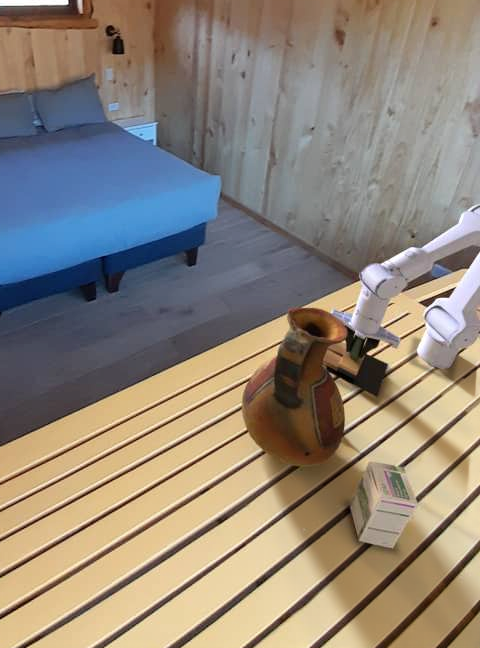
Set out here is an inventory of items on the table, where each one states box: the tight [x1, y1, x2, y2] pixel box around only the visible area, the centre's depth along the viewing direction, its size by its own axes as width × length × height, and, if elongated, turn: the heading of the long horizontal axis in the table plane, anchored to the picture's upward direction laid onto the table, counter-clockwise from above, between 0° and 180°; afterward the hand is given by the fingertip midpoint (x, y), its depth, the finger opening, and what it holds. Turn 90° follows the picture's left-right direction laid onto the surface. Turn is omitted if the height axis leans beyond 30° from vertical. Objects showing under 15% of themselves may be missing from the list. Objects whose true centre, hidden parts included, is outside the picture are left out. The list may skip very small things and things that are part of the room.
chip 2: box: [323, 350, 342, 371], centre depth 101 cm, size 4×4×1 cm
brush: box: [337, 335, 367, 380], centre depth 98 cm, size 9×4×10 cm, turn 138°
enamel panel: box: [325, 353, 389, 398], centre depth 100 cm, size 12×12×2 cm
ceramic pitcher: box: [241, 306, 348, 467], centre depth 81 cm, size 20×20×30 cm
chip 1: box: [327, 342, 346, 357], centre depth 105 cm, size 4×4×1 cm
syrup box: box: [349, 461, 419, 549], centre depth 69 cm, size 6×6×14 cm
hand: (354, 352), depth 99 cm, fingers closed on brush, 2 cm apart
